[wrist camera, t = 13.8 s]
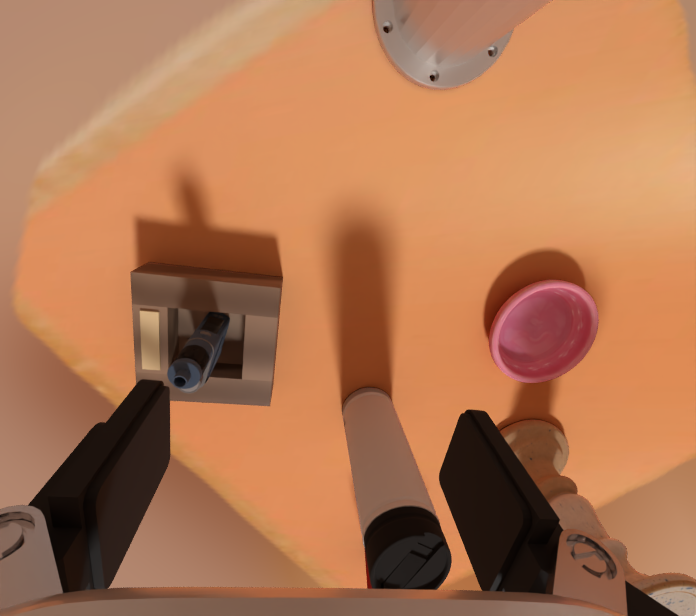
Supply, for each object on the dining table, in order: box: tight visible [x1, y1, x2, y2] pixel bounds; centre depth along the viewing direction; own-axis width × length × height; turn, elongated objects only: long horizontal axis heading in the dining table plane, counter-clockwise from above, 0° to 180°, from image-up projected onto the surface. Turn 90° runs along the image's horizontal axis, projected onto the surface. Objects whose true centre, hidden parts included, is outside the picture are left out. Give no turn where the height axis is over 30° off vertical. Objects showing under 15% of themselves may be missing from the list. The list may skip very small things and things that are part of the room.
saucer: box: [489, 280, 598, 383], centre depth 41 cm, size 12×12×3 cm
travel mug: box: [342, 387, 451, 590], centre depth 34 cm, size 6×7×20 cm
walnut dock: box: [131, 262, 283, 406], centre depth 36 cm, size 13×13×4 cm
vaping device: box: [167, 312, 230, 393], centre depth 31 cm, size 3×5×12 cm, turn 159°
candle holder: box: [500, 420, 696, 616], centre depth 40 cm, size 12×12×20 cm
